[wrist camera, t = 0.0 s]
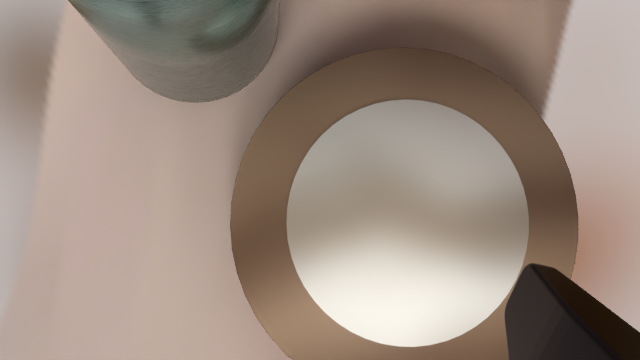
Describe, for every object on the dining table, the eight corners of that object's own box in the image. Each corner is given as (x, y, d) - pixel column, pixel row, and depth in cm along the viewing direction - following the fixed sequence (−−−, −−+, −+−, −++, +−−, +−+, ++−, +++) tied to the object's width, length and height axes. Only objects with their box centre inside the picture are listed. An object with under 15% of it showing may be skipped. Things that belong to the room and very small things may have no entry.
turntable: (604, 334, 24) (624, 340, 22) (286, 440, 22) (288, 454, 21) (506, 21, 24) (520, 9, 23) (191, 105, 23) (186, 97, 22)
